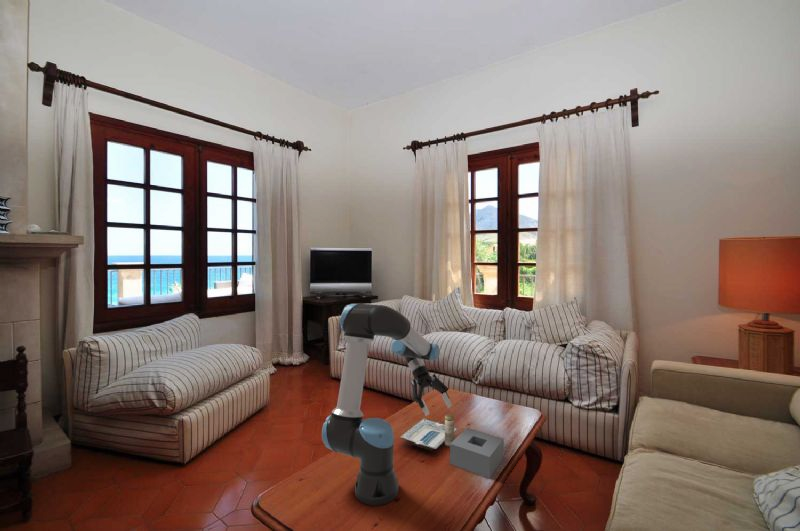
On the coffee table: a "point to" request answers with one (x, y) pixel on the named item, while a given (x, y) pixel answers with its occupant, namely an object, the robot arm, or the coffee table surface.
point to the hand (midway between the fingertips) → (439, 410)
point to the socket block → (477, 452)
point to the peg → (449, 429)
